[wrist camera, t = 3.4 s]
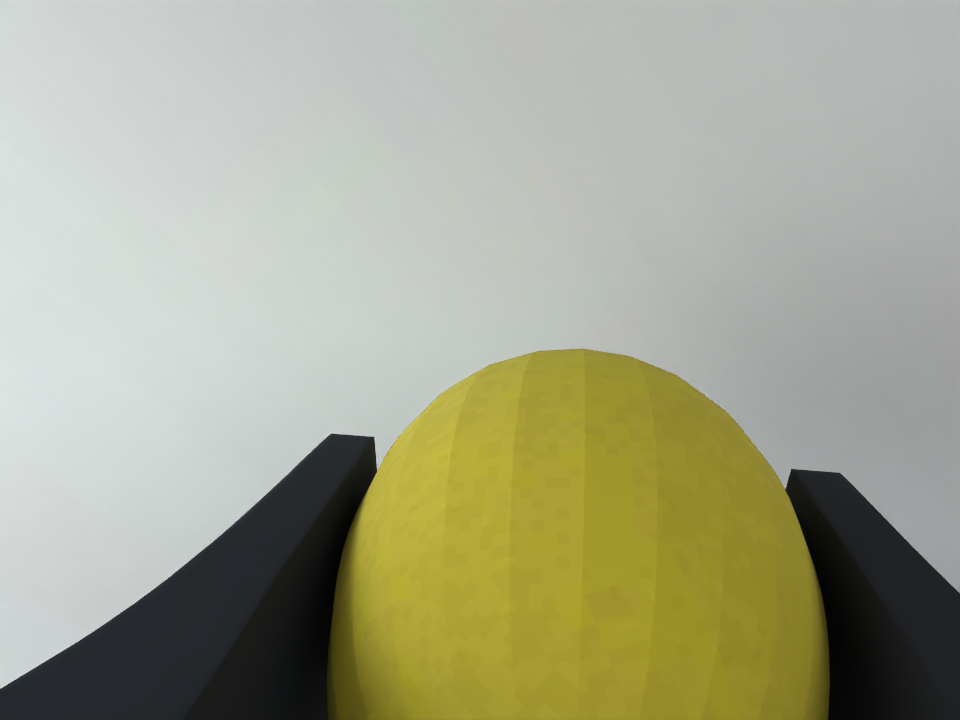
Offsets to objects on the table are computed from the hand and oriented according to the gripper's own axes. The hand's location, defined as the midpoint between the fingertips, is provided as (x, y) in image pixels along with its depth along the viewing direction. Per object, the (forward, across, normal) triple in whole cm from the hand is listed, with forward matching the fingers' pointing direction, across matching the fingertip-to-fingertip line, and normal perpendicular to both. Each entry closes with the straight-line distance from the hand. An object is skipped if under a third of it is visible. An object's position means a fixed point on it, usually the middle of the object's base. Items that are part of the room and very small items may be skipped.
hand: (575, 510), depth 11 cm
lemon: (+3, 0, 0) cm, 3 cm away
